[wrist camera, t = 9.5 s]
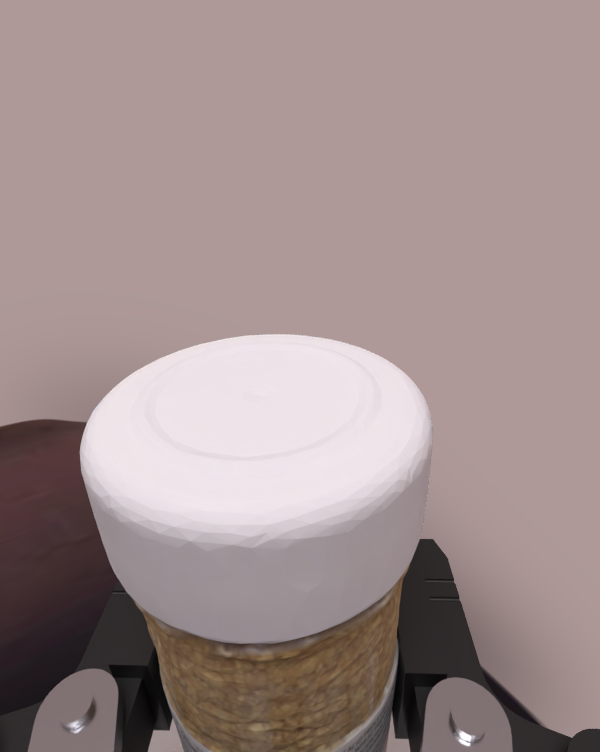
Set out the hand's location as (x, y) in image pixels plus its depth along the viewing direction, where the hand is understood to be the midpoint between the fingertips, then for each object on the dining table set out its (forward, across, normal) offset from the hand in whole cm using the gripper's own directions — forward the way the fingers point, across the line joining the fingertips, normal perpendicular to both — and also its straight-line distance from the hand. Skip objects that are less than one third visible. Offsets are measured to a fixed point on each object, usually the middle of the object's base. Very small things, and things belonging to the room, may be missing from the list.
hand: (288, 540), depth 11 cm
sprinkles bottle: (-3, 0, +8) cm, 8 cm away
